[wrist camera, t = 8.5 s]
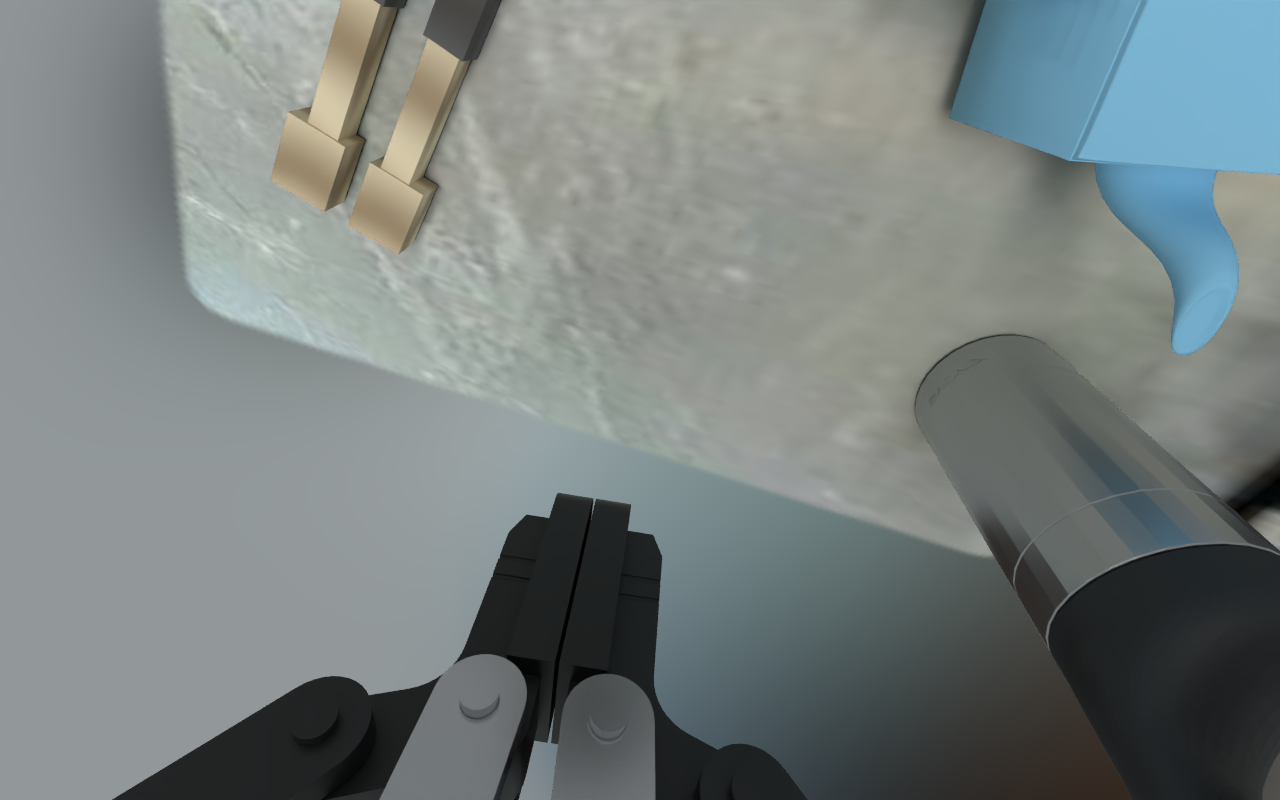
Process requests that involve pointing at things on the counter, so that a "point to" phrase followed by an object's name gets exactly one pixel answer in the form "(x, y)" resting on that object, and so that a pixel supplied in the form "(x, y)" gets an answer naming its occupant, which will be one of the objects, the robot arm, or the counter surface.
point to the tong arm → (421, 125)
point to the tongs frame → (335, 107)
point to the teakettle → (1141, 117)
